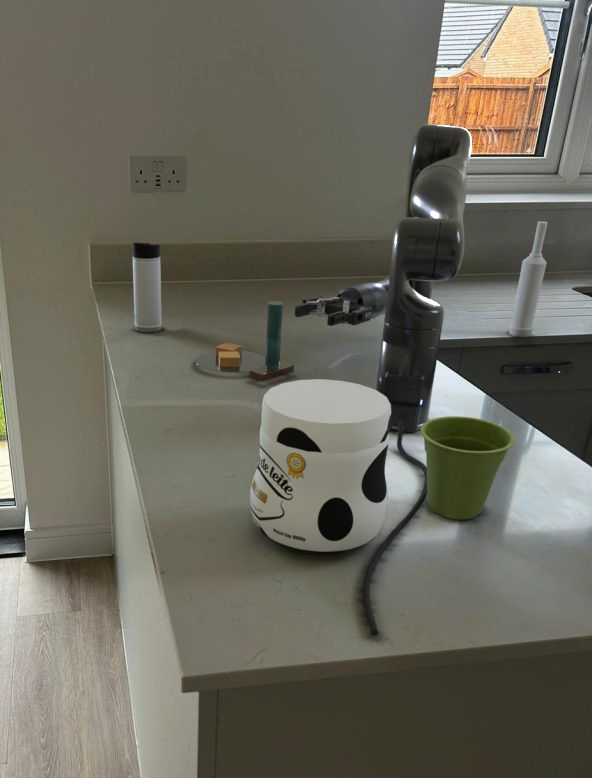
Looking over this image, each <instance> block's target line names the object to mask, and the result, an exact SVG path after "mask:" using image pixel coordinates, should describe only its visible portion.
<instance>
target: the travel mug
mask: <svg viewBox="0 0 592 778" xmlns="http://www.w3.org/2000/svg"><path fill="white" fill-rule="evenodd" d="M161 269H162V268H161V244H159V243H155V244H152V243H150V242H137V241H135V242H132V278H133V280H132V281H133V308H134V329H135V331H137V332H139V333H145V334H146V333H147V334H149V333H150V334H151V333H157V332H160V331H161V330H162V329H163V328H162V327H163V326H162V279H161V278H162V277H161V274H162V273H161V272H162V271H161Z"/></svg>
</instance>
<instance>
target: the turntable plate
mask: <svg viewBox="0 0 592 778" xmlns="http://www.w3.org/2000/svg"><path fill="white" fill-rule="evenodd" d="M265 357H266V356H264V355H262V354H259V353H257V352H253V351H249V350H243V349H242V355H241V356H240V367H220V365H219V357H216V349H215V350H210V351H205V352H202V353H200V354H198V355H197V356H195V358H194V363H195V364H196V365H197V366H198V367H200V368H203V369H205V370H209V371H213V372H221V373H245V372H250V370H253V369H256V368H260V367H263V366H265Z"/></svg>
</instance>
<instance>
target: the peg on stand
mask: <svg viewBox="0 0 592 778" xmlns="http://www.w3.org/2000/svg"><path fill="white" fill-rule="evenodd" d="M283 310H284V303H283V302H281V301H269V302H267V313H266V315H267V317H266V318H267V319H266V335H265V337H266V338H265V356H264V357H265V366H263V367H260V368H256V369H253V370H250V371H249V378H250V379H254V380H256V381H259V382H266V381H268V380H272V379H276V378H278V377H281V376H284V375H288V374H290V373H294V372H295V365H294V364H292V363H289V362H286V361H283V360H281V346H282V345H281V344H282V329H283V328H282V327H283Z"/></svg>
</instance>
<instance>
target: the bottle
mask: <svg viewBox="0 0 592 778" xmlns="http://www.w3.org/2000/svg"><path fill="white" fill-rule="evenodd" d="M547 227H548V222H547V221H537V224H536V229H535V236H534V239H533V246H532V250H531V252H530V253H529V256H527V257H526V258H525V259H523V260H522V262H521V269H520V274H519V279H518V285H517V290H516V295H515V302H514V308H513V312H512V313H513V314H512V319H511V324H510V325H509V329H508V334H509V335H510V336H513V337H517V338H529V337H531V335H532V334H533V333H532V332H533V329H534V327H533V323H534V319H535V315H536V310H537V307H538V302H539V298H540V293H541V289H542V286H543V281H544V276H545V271H546V268H547V261H546V260H545V258H544V257H543V254H542V250H543V246H544V240H545V236H546V232H547Z"/></svg>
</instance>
